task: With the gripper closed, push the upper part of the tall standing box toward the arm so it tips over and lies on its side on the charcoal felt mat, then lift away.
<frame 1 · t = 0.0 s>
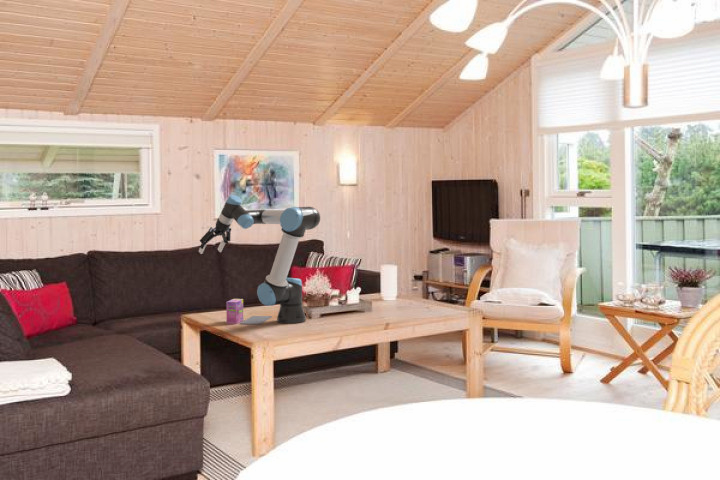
hand: (209, 251, 405), 36 cm above the table, tool tilted 35°, fingers open, 13 cm apart
felt mat: (256, 320, 393), on the table
box: (235, 322, 388), on the table
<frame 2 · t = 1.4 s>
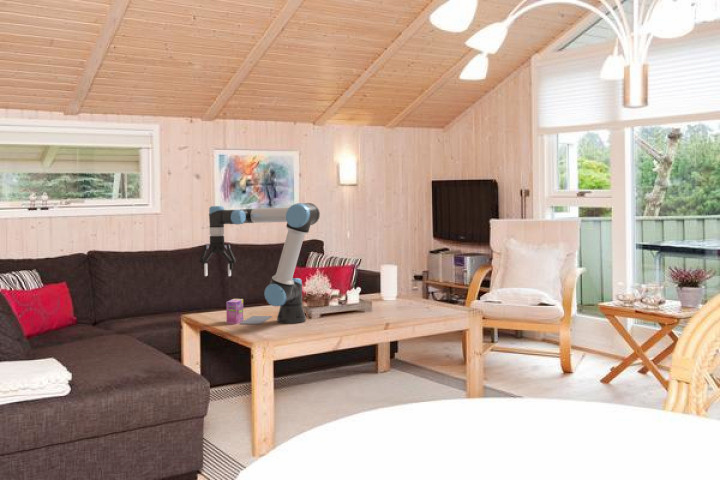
hand: (217, 276, 388), 24 cm above the table, tool pointing down, fingers open, 12 cm apart
nothing on the table moved.
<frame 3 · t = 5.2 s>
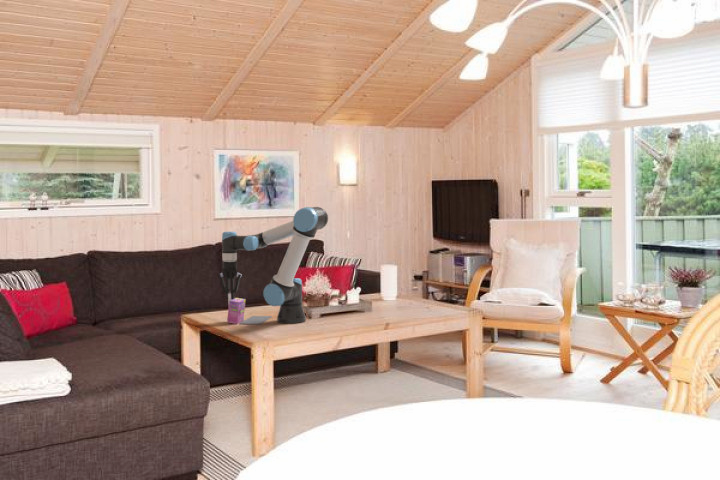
hand: (230, 305, 388), 9 cm above the table, tool pointing down, fingers closed
box: (235, 322, 388), on the table, touching gripper
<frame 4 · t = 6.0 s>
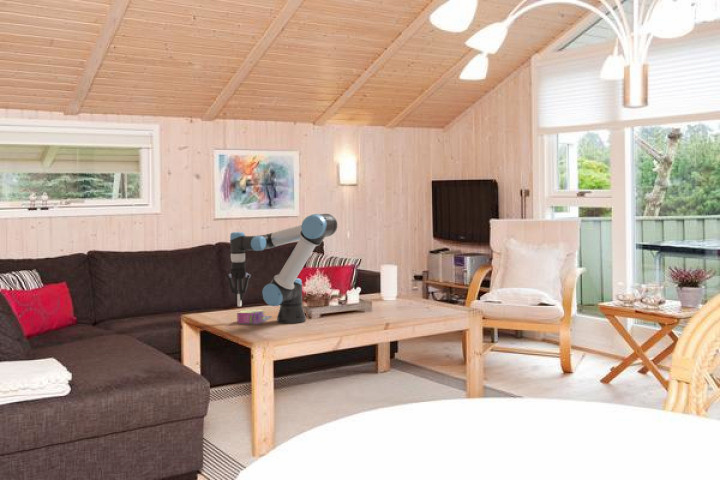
hand: (239, 306, 387), 9 cm above the table, tool pointing down, fingers closed
box: (239, 316, 387), point 3 cm above the table, touching felt mat
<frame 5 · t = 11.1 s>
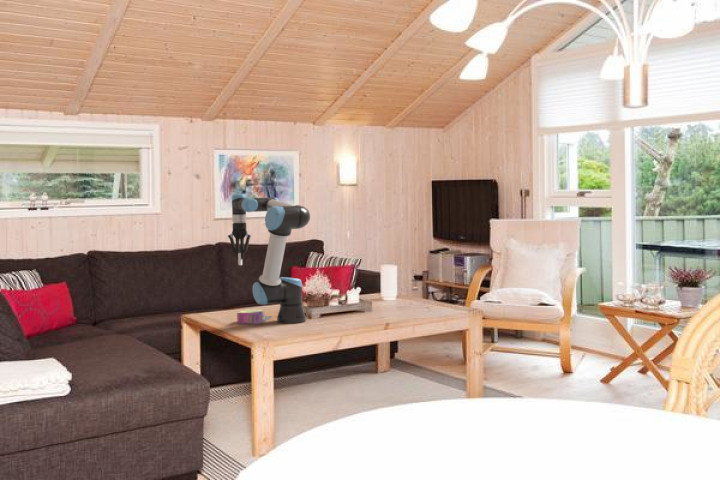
hand: (240, 264, 406), 28 cm above the table, tool pointing down, fingers closed
nothing on the table moved.
at the end: box tilted 89°; box touching felt mat; box inside the target area (2.8 cm from its centre), point 3.1 cm above the table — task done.
